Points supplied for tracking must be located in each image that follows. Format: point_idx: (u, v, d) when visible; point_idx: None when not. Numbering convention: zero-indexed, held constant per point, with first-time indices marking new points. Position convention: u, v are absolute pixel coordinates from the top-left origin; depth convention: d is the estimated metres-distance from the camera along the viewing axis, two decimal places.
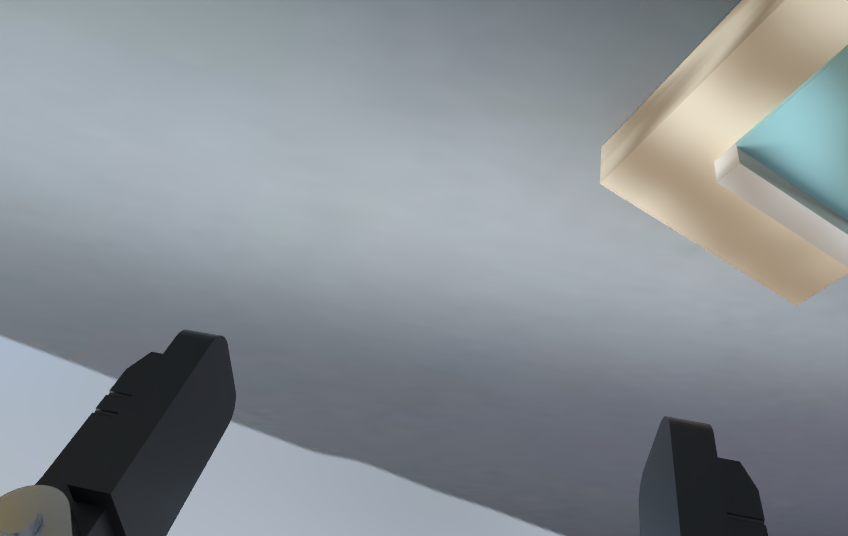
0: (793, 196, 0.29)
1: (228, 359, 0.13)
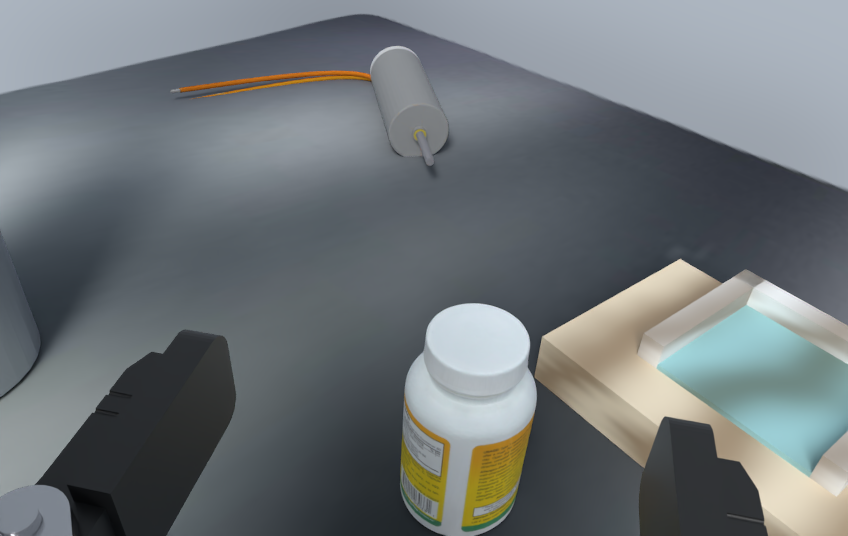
0: None
1: (228, 359, 0.13)
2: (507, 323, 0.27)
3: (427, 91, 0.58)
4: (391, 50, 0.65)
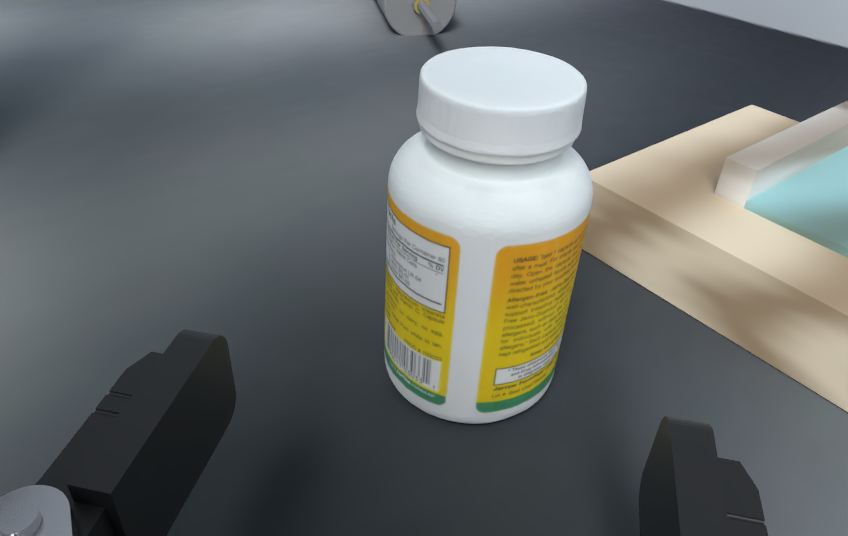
0: None
1: (228, 359, 0.13)
2: (548, 64, 0.17)
3: None
4: None
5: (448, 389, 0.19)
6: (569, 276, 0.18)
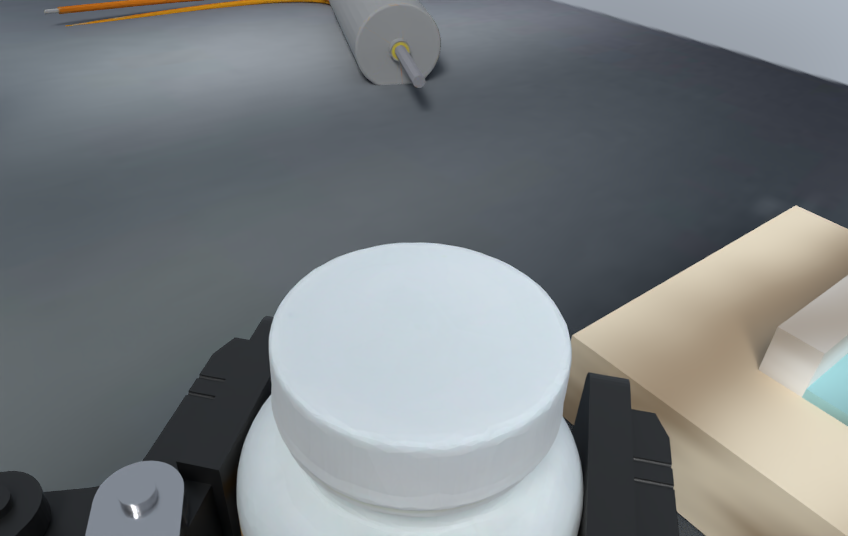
0: None
1: None
2: (505, 291, 0.10)
3: None
4: None
5: None
6: None
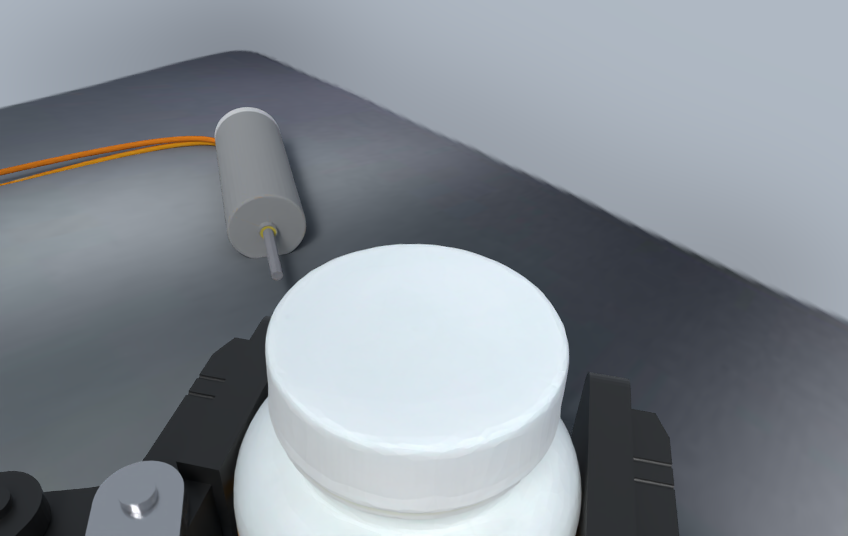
0: None
1: None
2: (503, 293, 0.10)
3: (276, 173, 0.46)
4: (237, 114, 0.52)
5: None
6: None
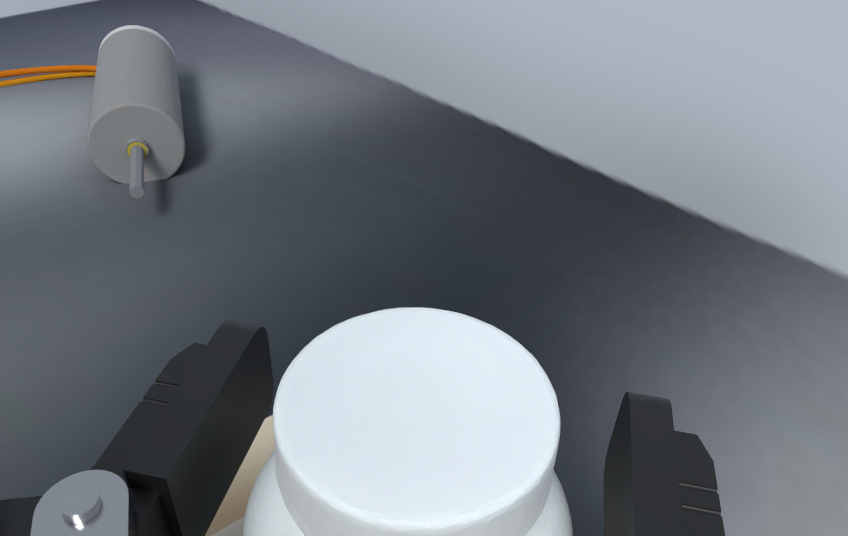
0: None
1: (268, 350, 0.13)
2: (498, 360, 0.10)
3: (151, 85, 0.39)
4: (120, 31, 0.46)
5: None
6: None
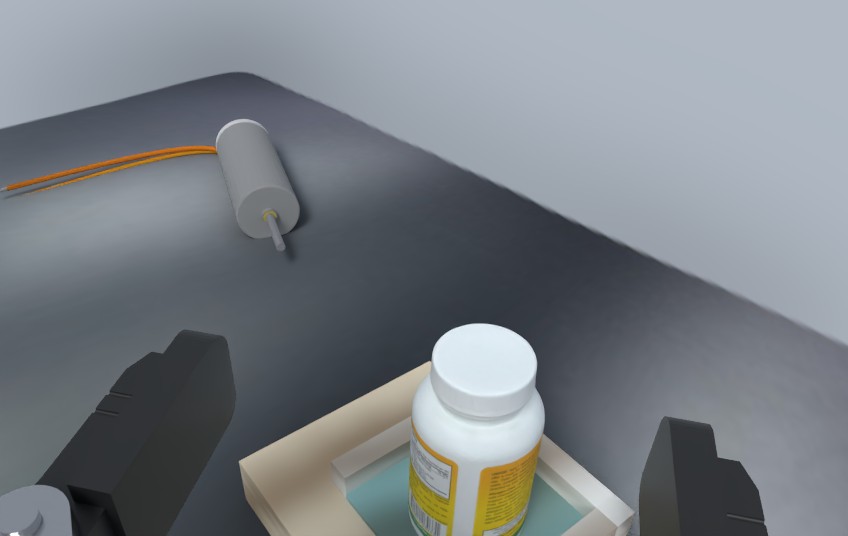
0: None
1: (228, 359, 0.13)
2: (514, 343, 0.27)
3: (273, 169, 0.56)
4: (235, 124, 0.63)
5: None
6: (530, 472, 0.28)
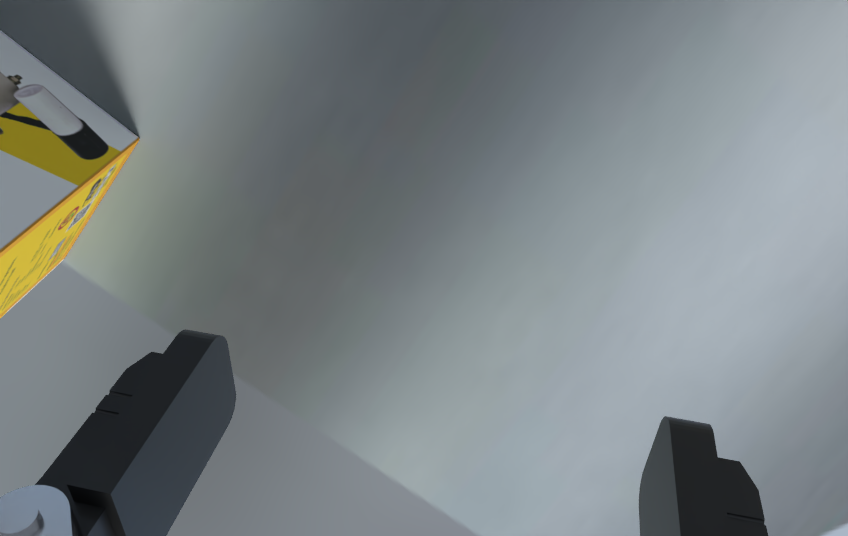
0: None
1: (228, 359, 0.13)
2: None
3: None
4: None
5: None
6: None
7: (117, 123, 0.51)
